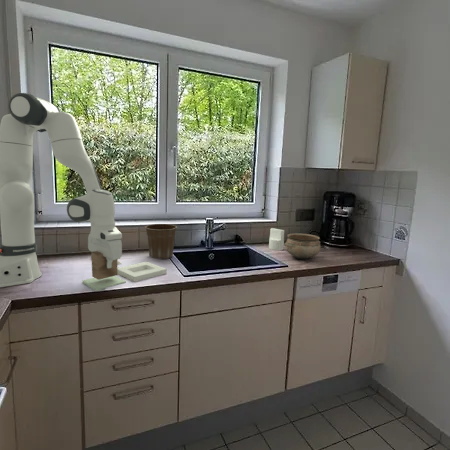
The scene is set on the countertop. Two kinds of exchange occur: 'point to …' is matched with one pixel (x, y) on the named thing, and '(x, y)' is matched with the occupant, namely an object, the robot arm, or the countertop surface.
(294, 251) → the cooking pot
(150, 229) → the plant pot
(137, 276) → the pocket plate
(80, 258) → the countertop surface
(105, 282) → the green pad
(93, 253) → the walnut block
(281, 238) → the base with upright slab
